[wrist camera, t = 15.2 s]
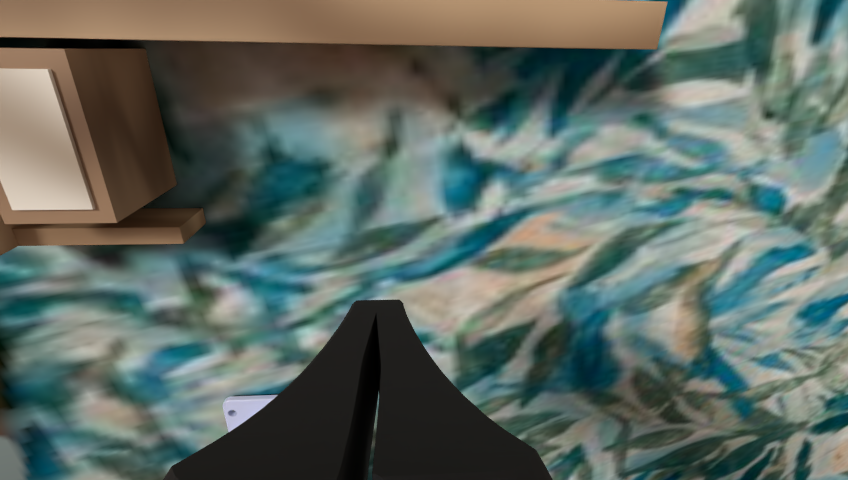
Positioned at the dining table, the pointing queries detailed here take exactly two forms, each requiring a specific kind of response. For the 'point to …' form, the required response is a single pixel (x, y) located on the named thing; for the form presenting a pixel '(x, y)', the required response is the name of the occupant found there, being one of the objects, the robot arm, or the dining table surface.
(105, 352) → the dining table surface
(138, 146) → the cabinet block
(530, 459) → the robot arm
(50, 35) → the wooden bracket
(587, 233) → the dining table surface
